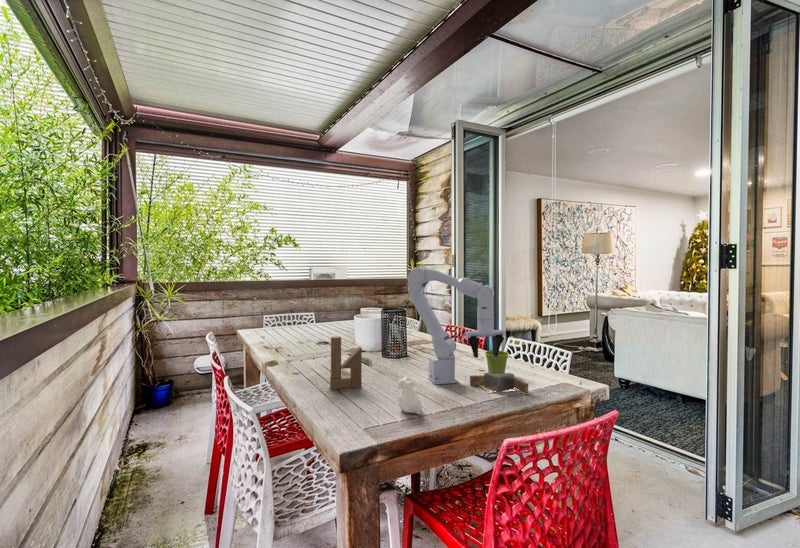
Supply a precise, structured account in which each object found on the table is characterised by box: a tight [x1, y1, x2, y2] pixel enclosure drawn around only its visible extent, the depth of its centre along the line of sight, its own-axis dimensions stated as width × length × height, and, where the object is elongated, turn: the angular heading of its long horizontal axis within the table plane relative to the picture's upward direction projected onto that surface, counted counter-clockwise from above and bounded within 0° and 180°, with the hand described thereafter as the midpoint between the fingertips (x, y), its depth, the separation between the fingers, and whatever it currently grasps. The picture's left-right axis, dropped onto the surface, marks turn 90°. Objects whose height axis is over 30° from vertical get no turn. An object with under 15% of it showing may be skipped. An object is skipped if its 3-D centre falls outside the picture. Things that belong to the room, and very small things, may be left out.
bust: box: [396, 375, 423, 415], centre depth 121 cm, size 12×8×11 cm
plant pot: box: [484, 349, 510, 374], centre depth 162 cm, size 9×9×9 cm
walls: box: [469, 374, 529, 394], centre depth 143 cm, size 15×14×3 cm
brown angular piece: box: [329, 335, 363, 390], centre depth 144 cm, size 4×11×18 cm, turn 103°
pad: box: [478, 385, 504, 393], centre depth 143 cm, size 10×8×1 cm
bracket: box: [483, 371, 515, 393], centre depth 143 cm, size 8×6×5 cm
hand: (485, 356), depth 147 cm, fingers open, 7 cm apart
